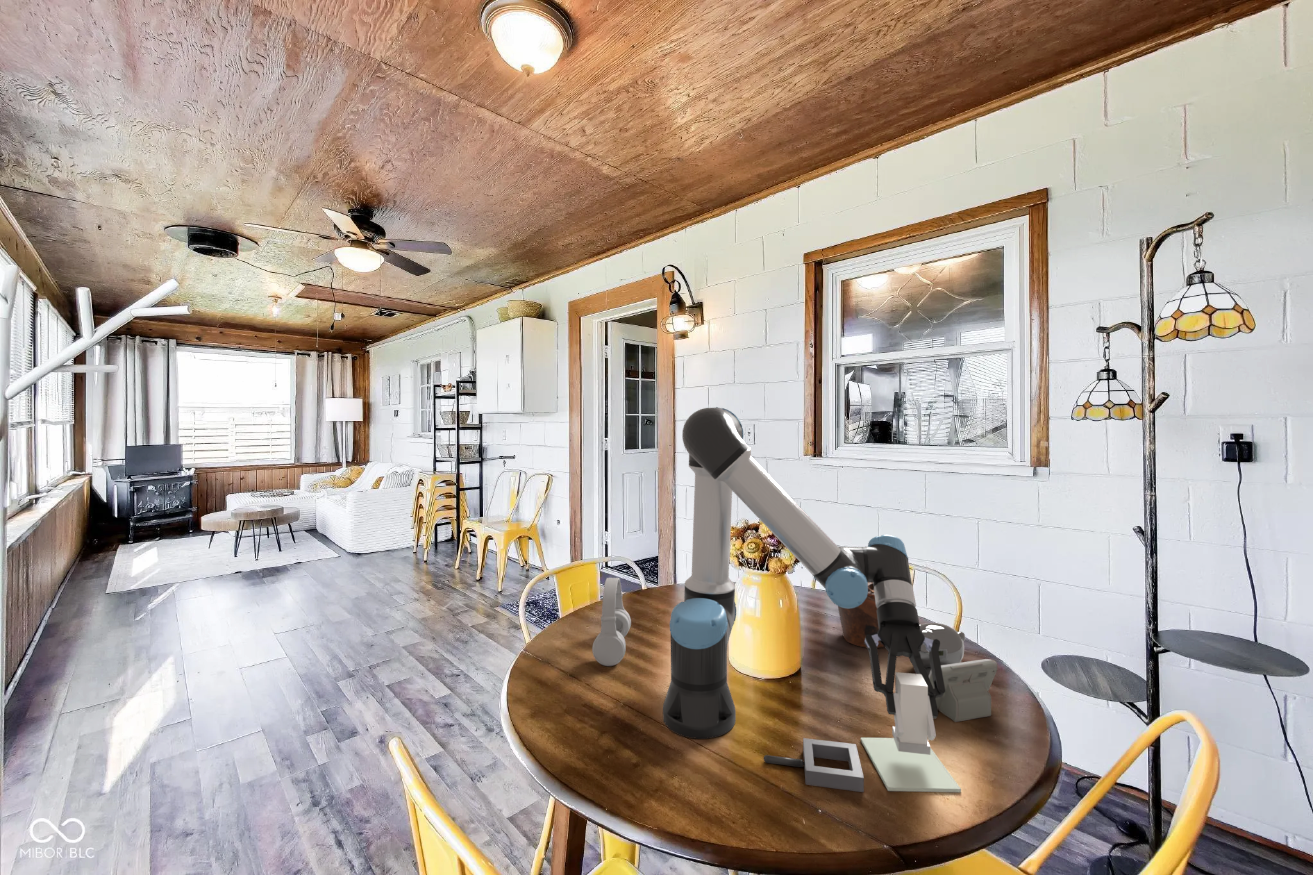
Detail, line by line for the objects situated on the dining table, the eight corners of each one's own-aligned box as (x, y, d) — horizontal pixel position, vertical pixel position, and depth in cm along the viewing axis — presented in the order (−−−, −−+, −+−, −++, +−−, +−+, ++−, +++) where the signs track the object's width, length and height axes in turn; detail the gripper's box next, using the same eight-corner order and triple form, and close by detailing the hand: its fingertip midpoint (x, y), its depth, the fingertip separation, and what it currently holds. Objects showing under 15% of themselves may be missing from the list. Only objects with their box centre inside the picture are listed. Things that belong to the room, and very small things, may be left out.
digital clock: (982, 697, 121) (983, 650, 121) (1010, 720, 112) (1011, 670, 112) (911, 700, 121) (911, 652, 120) (933, 723, 112) (934, 672, 111)
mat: (888, 790, 92) (888, 787, 92) (860, 740, 106) (860, 737, 106) (960, 792, 91) (961, 788, 91) (923, 741, 105) (923, 738, 105)
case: (832, 649, 145) (833, 583, 144) (832, 622, 164) (834, 563, 163) (905, 660, 140) (907, 591, 139) (897, 630, 159) (899, 569, 158)
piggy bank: (892, 660, 139) (893, 616, 139) (951, 660, 139) (952, 615, 139) (913, 682, 128) (914, 634, 128) (977, 681, 128) (978, 633, 128)
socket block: (762, 778, 95) (762, 764, 95) (764, 746, 104) (764, 733, 104) (863, 792, 92) (863, 777, 92) (855, 757, 101) (855, 744, 101)
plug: (898, 751, 96) (898, 684, 96) (892, 734, 101) (892, 670, 101) (930, 754, 95) (930, 687, 95) (922, 737, 100) (923, 673, 100)
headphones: (625, 667, 137) (624, 591, 136) (591, 667, 137) (590, 591, 136) (631, 634, 157) (630, 568, 156) (602, 634, 157) (601, 568, 156)
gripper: (939, 619, 111) (966, 747, 95) (848, 613, 114) (860, 736, 99) (947, 602, 105) (977, 735, 90) (852, 597, 109) (865, 724, 94)
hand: (916, 735), depth 95 cm, fingers closed on plug, 4 cm apart
